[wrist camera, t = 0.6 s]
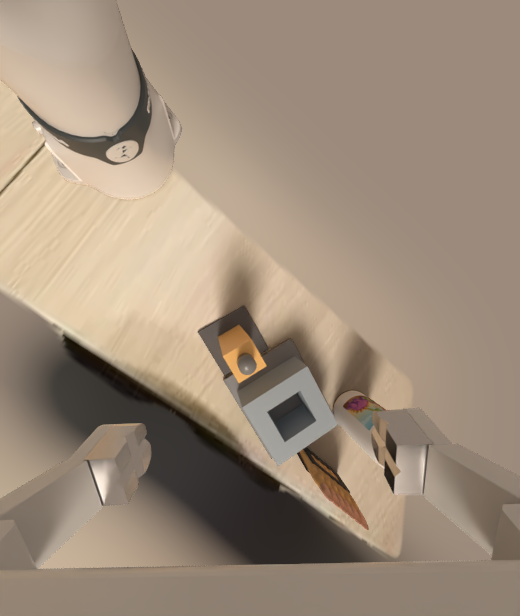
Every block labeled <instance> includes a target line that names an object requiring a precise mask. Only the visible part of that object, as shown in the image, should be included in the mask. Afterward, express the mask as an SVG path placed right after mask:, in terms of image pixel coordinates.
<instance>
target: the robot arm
mask: <svg viewBox="0 0 520 616" xmlns="http://www.w3.org/2000/svg"><path fill="white" fill-rule="evenodd" d="M0 80H1V81H2V82H3V83H4V84H5V85H6V86H8V87H9V88H10V89H11V90H12V91H13V92H14V93H15V94H16V95H17V97H18V99H19V101H20V102H21V104H22V105H23V107H24V108H25V109H26V110H27V112H28V113H29V114H30V115H31V116H32V117H33V119H34V120H35V121H33V122H32V124H33V126H34V128H35V130H36V131H37V132H38V133H39V134H40V135H44V138H45V140H46V142H45V145H46V147H47V148H48V149H49V151H50V152H51V154H52V156H53V159H54V161H55V164H56V166H57V169H58V171H59V173H60V175H61V176H62V177H63V178H64V179H65V180H66V181H68V182H71V183H75V184H82V185H88V186H90V187H92V188H94V189H96V190H98V191H100V192H102V193H104V194H106V195H108V196H111V197H115V198H119V199H138V198H142V197H146V196H148V195H150V194H152V193H154V192H155V191H157V190H158V189H159V188H160V187H161V186H162V185H163V184H164V183H165V182H166V180H167V179H168V177H169V175H170V173H171V170H172V167H173V161H174V148H175V145H176V143H177V141H178V139H179V137H180V135H181V131H182V128H181V124H180V122H179V120H178V119H177V118H176V116H175V115H174V114H173V112H172V111H171V110H170V108H169V107H168V106H167V105H166V103H165V102H164V101H163V99H162V97H161V95H159V94H158V93H157V91H156V90H155V89H154V88H153V86H152V85H151V84H150V82H149V81H148V80H147V78H146V77H145V74H144V72H143V69H142V68H141V66H140V63H139V61H138V59H137V57H136V55H135V53H134V52H133V50H132V49H131V47H130V43H129V40H128V37H127V34H126V31H125V27H124V24H123V21H122V18H121V15H120V11H119V8H118V5H117V2H116V0H0ZM169 119H170V120H169ZM372 423H373V425H374V426H375V428H374V429H373V431H372V432H371V441H372V447H373V451H374V454H375V457H376V459H377V461H378V463H379V464H381V465H382V466H383V467H384V476H385V478H386V480H387V482H388V484H389V486H390V488H391V490H392V492H393V494H394V495H424V497H425V498H426V499H427V500H428V501H429V502H431V503H432V504H433V505H434V506H435V507H436V508H437V509H439V510H440V511H441V512H442V513H443V514H444V515H445V516H446V517H448V518H449V519H450V520H451V521H452V522H453V523H455V524H456V525H457V526H458V527H459V528H460V529H461V530H463V531H464V532H465V533H466V534H467V535H468V536H469V537H471V538H472V539H473V540H474V541H475V542H476V543H477V544H479V545H480V546H481V547H482V548H483V549H484V550H485V551H486V552H488V553H489V554H490V555H491V556H492V558H491V560H481V561H428V562H427V561H425V562H375V563H326V564H281V565H280V564H278V565H226V566H225V565H224V566H170V567H121V568H120V567H118V568H117V567H116V568H64V569H38V568H39V567H40V566H41V565H42V564H43V563H44V562H45V561H46V560H48V559H49V558H50V557H51V556H52V555H53V554H54V553H55V552H56V551H57V550H58V549H59V548H60V547H61V546H62V545H63V544H64V543H65V542H67V541H68V540H69V539H70V538H71V537H72V536H73V535H74V534H75V533H76V532H77V531H78V530H79V529H80V528H81V527H82V526H83V525H84V524H85V523H87V522H88V521H89V520H90V519H91V518H92V517H93V516H94V515H95V514H96V513H97V512H98V511H99V510H100V509H101V508H102V506H106V505H121V504H129V502H130V500H131V498H132V496H133V494H134V493H135V491H136V488H137V487H138V485H139V483H138V478H139V477H140V476H141V475H143V474H144V473H145V471H146V470H147V468H148V466H149V462H150V458H151V447H150V443H149V442H148V441H147V440H146V439H145V438H144V437H145V435H146V434H147V431H146V428H145V425H143V424H141V423H140V424H115V425H114V424H112V425H101V426H99V427H98V428H97V429H96V430H95V431H94V432H93V433H92V434H91V435H90V436H89V438H88V439H87V440H86V441H85V442H84V443H83V444H82V445H81V446H80V448H79V449H78V450H77V451H76V452H75V453H74V454H73V455H72V456H71V457H70V459H69V460H68V461H67V462H61V463H59V464H58V465H56V466H54V467H53V468H51V469H49V470H48V471H46V472H44V473H43V474H41V475H39V476H38V477H36V478H34V479H32V480H31V481H29V482H28V483H26V484H24V485H22V486H21V487H19V488H17V489H16V490H14V491H12V492H11V493H9V494H7V495H6V496H4V497H2V498H1V499H0V616H520V476H519V475H517V474H515V473H513V472H511V471H509V470H507V469H505V468H503V467H502V466H500V465H498V464H496V463H494V462H492V461H490V460H488V459H486V458H484V457H482V456H480V455H478V454H476V453H474V452H473V451H470V450H469V449H467V448H465V447H463V446H461V445H459V444H452V443H451V442H450V441H449V439H448V438H447V437H446V436H445V435H444V434H443V433H442V432H441V430H440V429H439V428H438V427H437V426H436V425H435V424H434V423H433V421H432V420H431V419H430V418H429V417H428V416H427V415H426V414H425V412H424V411H423V410H422V409H420V408H408V409H401V410H384V411H373V413H372Z"/></svg>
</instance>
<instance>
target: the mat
mask: <svg viewBox="0 0 520 616" xmlns="http://www.w3.org/2000/svg"><path fill="white" fill-rule="evenodd" d="M237 325H240V326H241V327H242V329H243V330H244V331H245V332H246V333H247V334H248V336H249V337H250V338H251V339H252V341H253V343H254V344H255V346H256V348H257V350H258V352H259V353H260V354H261V353H263V352H264V351H266V350H268V347H267V346H266V344H265V342H264V340H263V338H262V337H261V335H260V333H259V331H258V329H257V328H256V326H255V324H254V322H253V320H252V319H251V317H250V315H249V313H248V311H247V310H246V308H245V306H242V307H241V308H239V309H237V310H235V311H234V312H232V313H230V314H228V315H227V316H225V317H223V318H221V319H220V320H218V321H216V322H214V323H213V324H211V325H209V326H207V327H206V328H204V329H202V330H200V331H199V332H198V333H199V335H200V336H201V338H202V339H203V341H204V343H205V344H206V346H207V348H208V349H209V351H210V353H211V354H212V356H213V358H214V359H215V361H216V363H217V364H218V366H219V367H220V369H221V371H222V372H223V374H224V376H225V375H227V374H228V373H230V372H231V369H230V368H229V366H228V364H227V363H226V361H225V359H224V358H223V355H222V352H221V348H220V344H219V340H218V336H220V335H222V334H224V333H225V332H227V331H229V330H230V329H232V328H234V327H236V326H237Z"/></svg>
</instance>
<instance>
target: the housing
mask: <svg viewBox="0 0 520 616" xmlns="http://www.w3.org/2000/svg"><path fill="white" fill-rule="evenodd" d="M261 357H262V359H263V360H264V362H265V364H266V367H265V368H263V369H261V370H260V371H258V372H257V373H255V374H253V375H252V376H250V377H248V378H247V379H245V380H244V381H242V382H240V383H238V381H237V379H236V378H235V376H234V374H233V373H232V374H231V375H229V376H227V377H226V378H224V379H223V380H224V382H225V384H226V385H227V387H228V389H229V390H230V392H231V393H232V395H233V397H234V398H235V400H236V402H237V403H238V405H239V407H240V408H241V410H242V411H243V413H244V415H245V416H246V418H247V420H248V421H249V423H250V425H251V426H252V428H253V429H254V431H255V433H256V434H257V436H258V438H259V439H260V441H261V443H262V444H263V446H264V447H265V449H266V451H267V452H268V454H269V456H270V457H271V459H272V458H273V459H274V461H275V462H276V464H277V466H279V465H280V464H282V463H283V462H285V461H286V460H288V459H289V458H291V457H292V456H294V455H295V454H296V453H298V452H299V451H301V450H302V449H304V448H305V447H307V446H308V445H310V444H311V443H312V442H314V441H315V440H317V439H318V438H320V437H321V436H323V435H324V434H326V433H327V432H329V431H330V430H331V429H333V428H334V427H336V426H337V425H338V423H337V421H336V419H335V418H334V416H333V414H332V412H331V410H330V408H329V406H328V404H327V402H326V401H325V399H324V397H323V395H322V393H321V391H320V389H319V387H318V385H317V384H316V382H315V380H314V378H313V376H312V374H311V372H310V370H309V368H308V367H307V366H306V365H305V363H304V361H303V360H302V358H301V356H300V354H299V352H298V350H297V348H296V346H295V344H294V343H293V341H292V339H291V338H290V339H288V340H286V341H285V342H283V343H282V344H280V345H278V346H277V347H275V348H273V349H272V350H270V351H268V352H267V353H265V354H263V355H262V356H261Z"/></svg>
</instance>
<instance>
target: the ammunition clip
mask: <svg viewBox="0 0 520 616" xmlns="http://www.w3.org/2000/svg"><path fill="white" fill-rule="evenodd" d="M297 454H298V456H299V458H300V460H301V461H302V463H303V465H304V467H305V468H306V470H307V471H308V472H309V473H310V474H311V476H312V478H313V479H314V481H315V483H316V484H317V485H318V486H319V488H320V489H321V491H322V493H323V494H324V495H325V497H326V498H327V499H328V500H330V501H331V502H333V503H334V504H335V505H336V506H337V507H340V509H341V510H342V511H344V512H345V513H347V514H348V515H349V516H350V517H351V518H353V519H354V520H355V521H356V522H358V523H359V524H361V525H362V526H363V527H364V528H365V529H367V530H369V528H368V525H367V522H366V520H365V518H364V516H363V515H362V513H361V512H360V510H359V508H358V506H357V504H356V502H355V501H354V499H353V498H352V496H351V495H350V491H349V490H348V488H347V487H346V486H345V484H344V483H343V481H342V480H341V478H340V477H339V475H338V474H337V473H336V472H335V471H334V470H333V469H332V468H330V467H329V466H328V465H327V464H326V463H324V462H323V461H322V460H321V459H320V458H318V457H317V456H316V455H315V454H314V453H312V452H311V451H310V450H309V449H308V448H306V447H305V448H304V449H302V450H301V451H299V452H298V453H297Z"/></svg>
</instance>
